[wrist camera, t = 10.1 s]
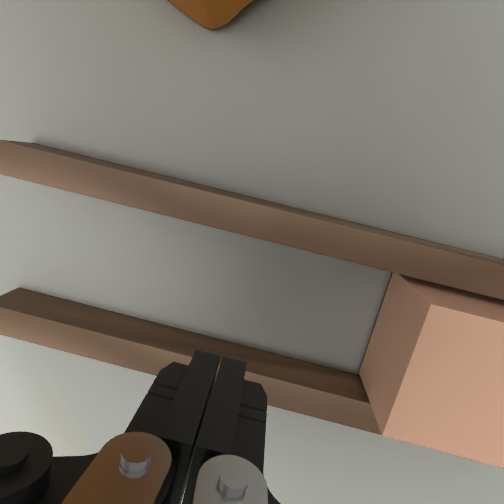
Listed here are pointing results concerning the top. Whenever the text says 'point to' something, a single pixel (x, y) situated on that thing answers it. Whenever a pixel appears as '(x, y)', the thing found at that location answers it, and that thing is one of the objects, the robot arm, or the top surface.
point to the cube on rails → (238, 221)
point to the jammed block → (438, 369)
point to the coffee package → (211, 10)
